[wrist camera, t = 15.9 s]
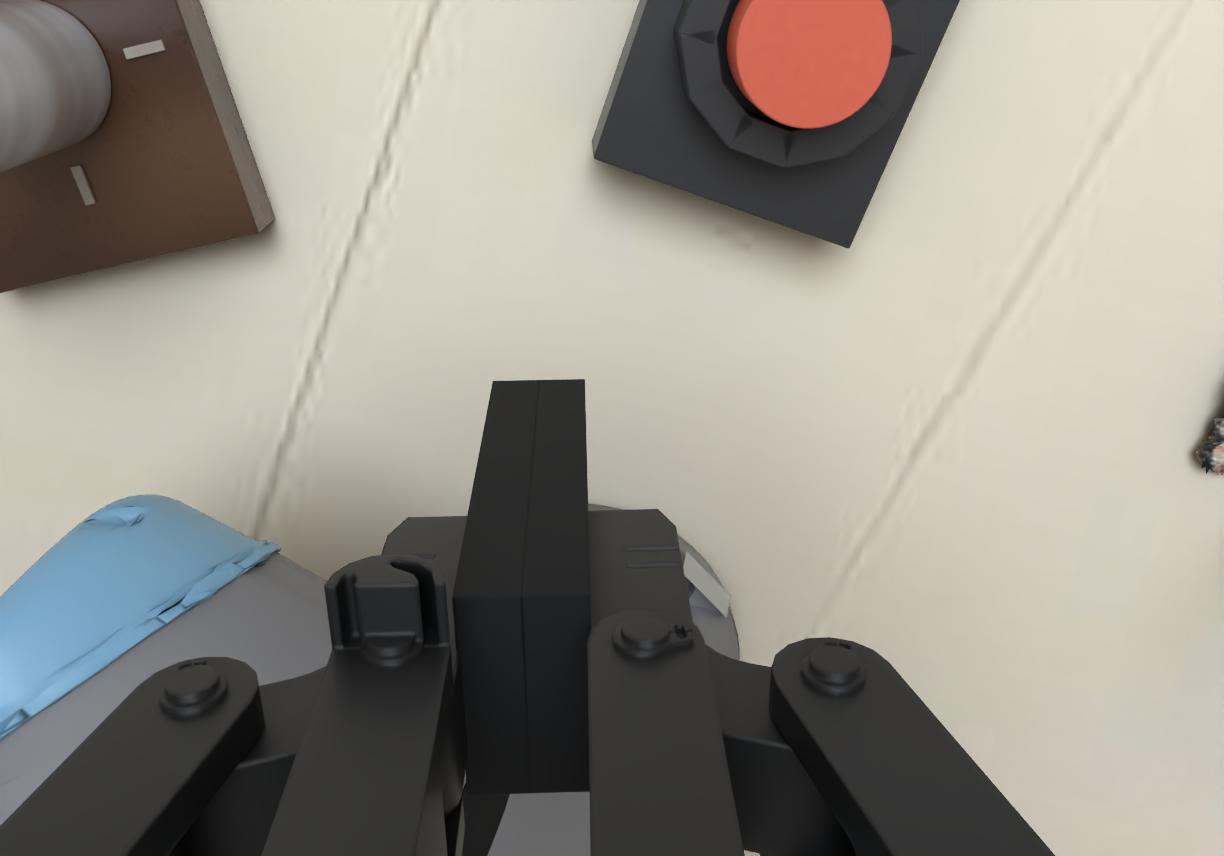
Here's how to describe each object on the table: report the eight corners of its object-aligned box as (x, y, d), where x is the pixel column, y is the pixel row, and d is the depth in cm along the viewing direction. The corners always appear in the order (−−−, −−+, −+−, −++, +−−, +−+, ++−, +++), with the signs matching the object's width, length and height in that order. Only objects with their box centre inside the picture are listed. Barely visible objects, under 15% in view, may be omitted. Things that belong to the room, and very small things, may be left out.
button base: (828, 226, 44) (864, 265, 38) (591, 142, 42) (594, 170, 37) (963, -87, 39) (1027, -94, 34) (705, -194, 38) (728, -220, 32)
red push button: (836, 139, 37) (853, 150, 35) (704, 90, 36) (712, 98, 34) (897, -6, 35) (919, -4, 33) (760, -61, 34) (772, -62, 32)
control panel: (275, 218, 43) (257, 234, 40) (10, 280, 43) (-24, 299, 41) (137, -179, 37) (107, -188, 35) (-164, -102, 38) (-215, -106, 35)
